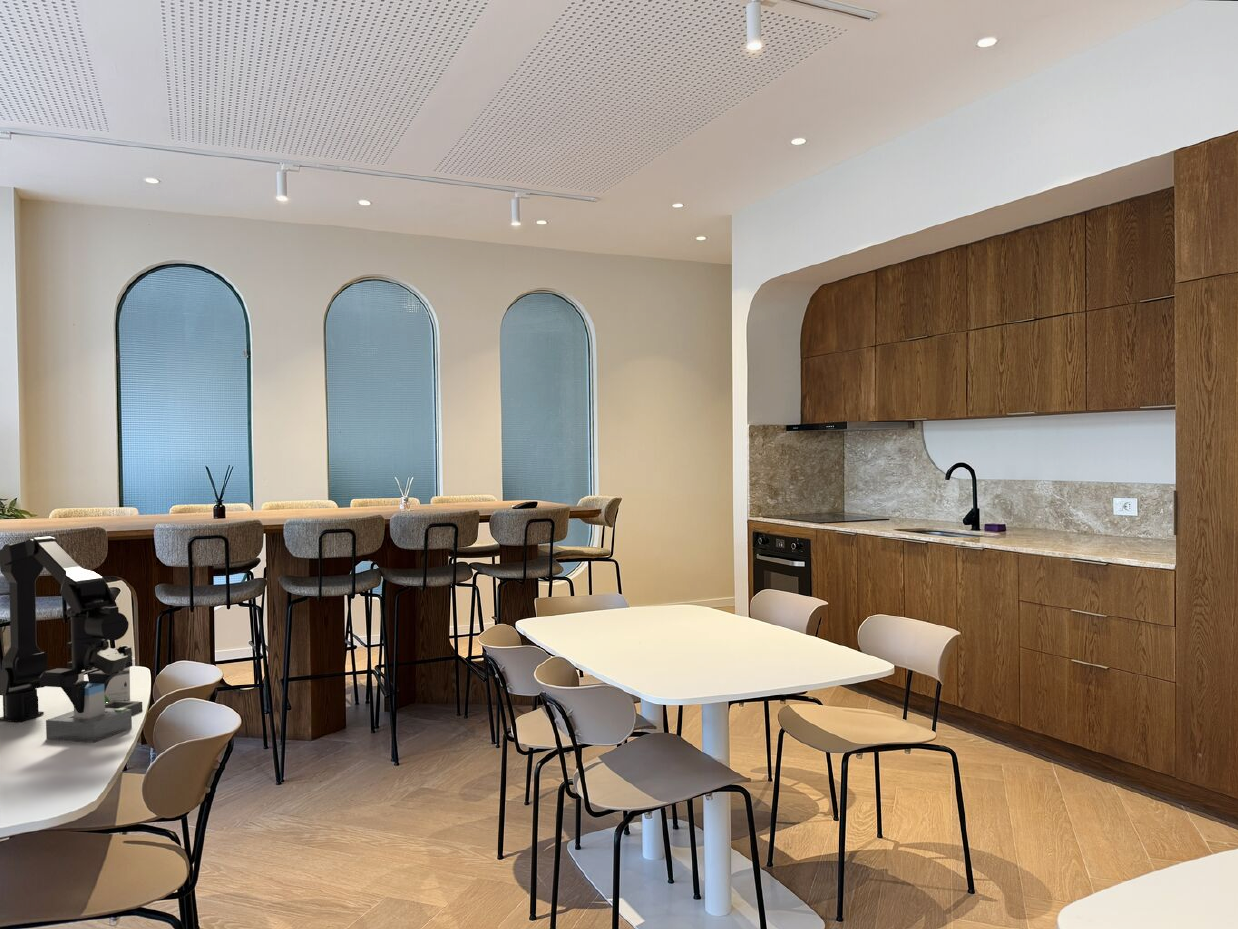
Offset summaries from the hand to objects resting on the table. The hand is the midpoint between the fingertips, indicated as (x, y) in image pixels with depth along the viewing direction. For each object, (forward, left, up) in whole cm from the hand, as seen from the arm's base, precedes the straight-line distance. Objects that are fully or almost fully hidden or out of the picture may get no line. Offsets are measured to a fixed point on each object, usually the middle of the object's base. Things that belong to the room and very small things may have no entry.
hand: (89, 710), depth 189 cm
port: (0, 0, -5) cm, 5 cm away
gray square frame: (-6, +13, -5) cm, 15 cm away
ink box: (-17, +23, -5) cm, 29 cm away
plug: (0, 0, -3) cm, 3 cm away
